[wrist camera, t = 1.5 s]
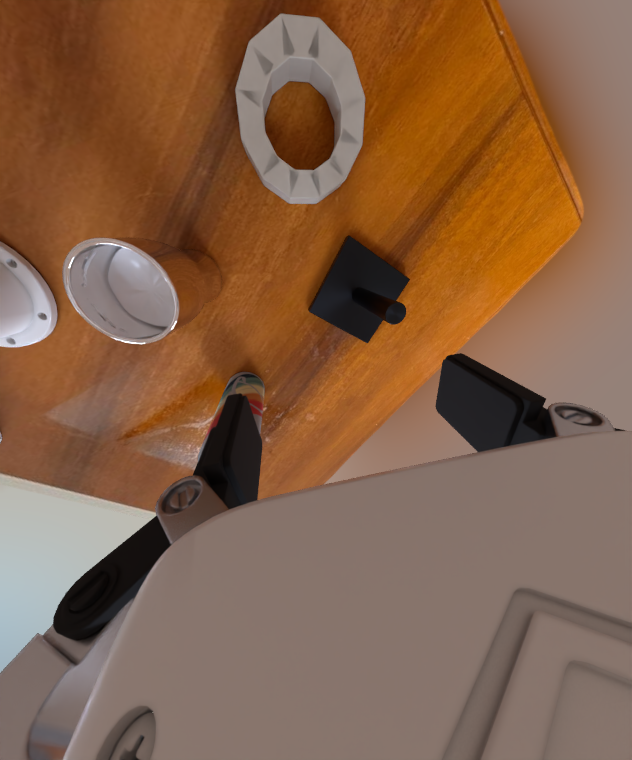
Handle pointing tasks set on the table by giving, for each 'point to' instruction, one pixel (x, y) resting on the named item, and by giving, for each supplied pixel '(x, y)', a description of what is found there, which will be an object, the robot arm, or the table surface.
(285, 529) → the robot arm
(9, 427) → the table surface
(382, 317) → the post
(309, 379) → the table surface
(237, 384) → the lotion bottle
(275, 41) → the tape roll
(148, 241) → the beer glass
